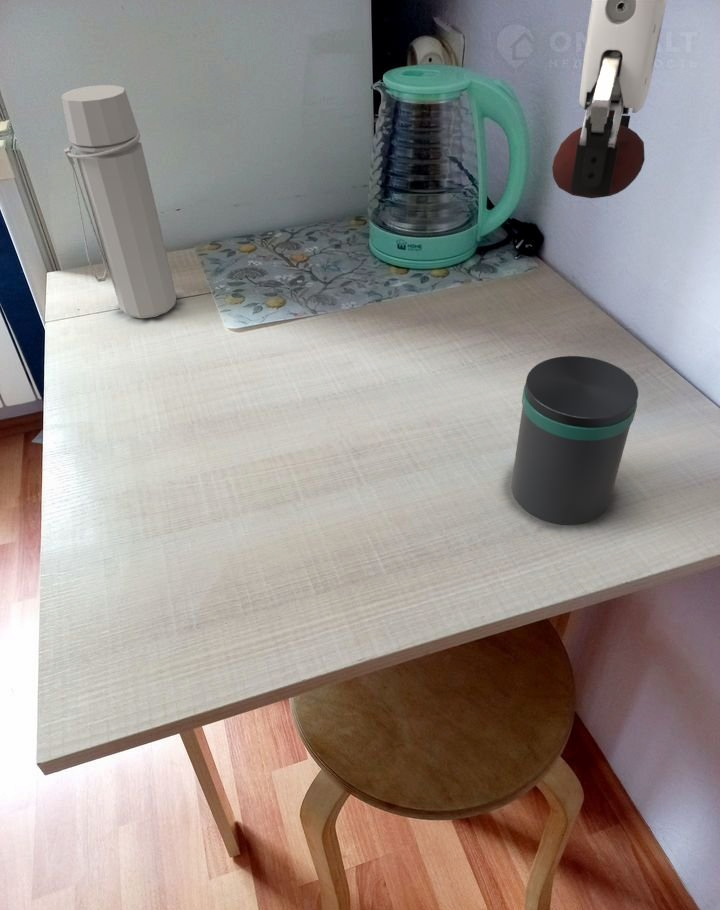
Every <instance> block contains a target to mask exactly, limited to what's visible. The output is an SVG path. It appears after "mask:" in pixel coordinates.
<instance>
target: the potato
mask: <svg viewBox="0 0 720 910" xmlns="http://www.w3.org/2000/svg"><path fill="white" fill-rule="evenodd" d="M582 128H583V126H581V127H579V128H577V129H576V130H574V131H572V132H571V133H570V134H569V135H568V136H567V137H566V138H565V139H563V141H562V142H561V144H560V146H559V148H558V149H557V151H556V154H555V155H554V158H553V160H552V161H553V163H552V167H551V171H552V178H553V180H554V182H555V185H556V186H557V188H559V189H561V190H562V191H564V192H565V193H567V194H569V195H571V196H575V197H580V198H587V199H599V198H606V197H611V196H614V195H617V194H619V193H620V192H623V191H624V190H626V189H627V188H628V187H629V186H630V185H631V184H632V183H633V182H634V181H635V180H636V179H637V178H638V176H639V174H640V173H641V171H642V168H643V165H644V163H645V157H646V156H645V142H644V140H643V138H641V137H640V136H639V135H638V133H637V132H636V131H634V130H633V129H631V128H630V127H628V128H627V127H624V126H622V125H620V126H619V130H618V135H617V139H616V144H615V145H619V147H618V153H617V158H616V163H615V169H614V174H613V179H612V185H611V190H610V193H609V194H608V195H607V196H597V195H586V194H576V193H573V192H572V191H571V185H572V178H573V171H574V165H575V158H576V151H577V145H578V142H580V137H581V132H582ZM610 132H611V130H610Z"/></svg>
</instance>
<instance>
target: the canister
mask: <svg viewBox="0 0 720 910" xmlns="http://www.w3.org/2000/svg"><path fill="white" fill-rule="evenodd" d="M521 397H522V398H521V406H522V407H521V415H520V421H519V429H518V435H517V442H516V448H515V449H516V450H515V457H514V463H513V471H512V479H511V491H512V495H513V497H514V499H515V500H516V502H517V504H518V505H519V506H520V507H521V508H523V510H524V511H526V512H527V513H528V514H530V515H532V516H534V517H535V518H538V519H540V520H543V521H545V522H549V523H553V524H557V525H571V526H572V525H581V524H585V523H588V522H591V521H593V520H596V519H597V518H599V517H600V516H602V514H604V513H605V512H606V511H607V509H608V507H609V506H610V502H611V499H612V494H613V490H614V486H615V483H616V480H617V476H618V473H619V468H620V465H621V461H622V457H623V454H624V449H625V447H626V442H627V439H628V436H629V432H630V428H631V425H632V424H633V421H634V418H635V415H636V411H637V407H638V398H639V389H638V385H637V383H636V381H635V380H634V379H633V378H632V377H631V375H630V374H628V373H627V372H626V371H624V370H623V369H622V368H620V367H618V366H617V365H615V364H613V363H610V362H607V361H605V360H603V359H602V360H601V359H598V358H594V357H591V356H590V357H589V356H582V355H581V356H580V355H563V356H557V357H556V356H555V357H552V358H549V359H545V360H543V361H541V362H539V363H537V364H536V365H535V366H534V367H532V368H531V369H530V370H529V372H528V373H527V376H526V379H525V383H524V386H523V390H522V396H521Z"/></svg>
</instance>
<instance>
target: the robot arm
mask: <svg viewBox="0 0 720 910" xmlns="http://www.w3.org/2000/svg"><path fill="white" fill-rule="evenodd" d="M667 2H668V1H667V0H591V5H590V12H589V19H588V23H587V24H588V25H587V31H586V38H585V46H584V52H583V53H584V54H583V62H582V63H583V64H582V71H581V79H580V89H579V100H578V103H579V106H580V107H581V108H582V109H583V110H584V111H585V114H584V119H583V124H582V127H583V128H582V132H581V137H580V142H578V145H577V151H576V158H575V165H574V171H573V178H572V185H571V191H572V192H573V193H576V194H586V195H597V196H607V195H608V194H609V193H610V190H611V185H612V179H613V174H614V169H615V163H616V158H617V153H618V147H619V145H615V144H616V139H617V135H618V130H619V126H620V125H622V126H624V127H627V128H629V125H630V121H631V115H629V112H630V110H631V109H632V110H631V112H632V114H637V113H638V112H639V111H641V110H642V109H643V107H644V105H645V103H646V99H647V97H648V94H649V91H650V87H651V82H652V77H653V71H654V66H655V62H656V57H657V51H658V47H659V46H658V45H659V41H660V36H661V31H662V26H663V22H664V17H665V11H666V7H667V6H666V5H667ZM610 130H611V132H610ZM607 197H608V196H607Z"/></svg>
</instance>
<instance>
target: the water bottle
mask: <svg viewBox="0 0 720 910" xmlns="http://www.w3.org/2000/svg"><path fill="white" fill-rule="evenodd" d="M61 102H62V109H63V113H64V118H65V119H64V120H65V123H66V129H67V135H68V139H69V142H70V143H71V144H70V145H68V147H66V148H64V149H63V152H64V153H65V156H66V157H67V159H68V162H69V163H70V167H71V172H72V179H73V184H74V190H75V195H76V200H77V207H78V212H79V217H80V222H81V228H82V229H81V230H82V234H83V239H84V245H85V253H86V256H87V257H86V258H87V262H88V264H89V267H90V269H91V271H92V274H93V276H94V278H95V279H96V281H97V283H100V282H106V281H107V278H108V272H109V275H110V278H111V283H112V286H113V289H114V293H115V296H116V300H117V303H118V306H119V309H120V310H121V311H122V312H123V313H125V314H126V315H128V316H129V317H130V318H136V319H149V318H155V317H159V316H161V315H164V314H166V313H168V312H169V311H170V310H171V309H173V307H175V305H176V303H177V293H176V288H175V284H174V280H173V276H172V271H171V267H170V262H169V257H168V254H167V249H166V245H165V241H164V236H163V231H162V228H161V224H160V218H159V215H158V209H157V206H156V200H155V198H154V193H153V187H152V183H151V180H150V175H149V171H148V170H149V169H148V166H147V162H146V158H145V153H144V149H143V145H142V142H140V139H141V131H140V130H139V129H138V125H137V122H136V119H135V116H134V113H133V110H132V107H131V103H130V101H129V98H128V94H127V91H126V89H125V87H122V86H120V85H114V84H99V85H88V86H83V87H79V88H74V89H71V90H68V91H66V92H64V93H63V94H62V95H61ZM73 148H74V149H75V150H76V152H75V153H74V154H73V153H72V152H71V150H72V149H73ZM74 159H76V162H77V164H78V167H79V172H80V175H81V179H82V182H83V185H84V189H85V193H86V196H87V199H88V203H89V206H90V209H91V213H92V217H91V213H90V211H89V207H88V205H87V202H86V198H85V196H84V192H83V190H82V186H81V184H80V180H79V178H78V175H77V171H76V168H75V160H74ZM76 182H77V183H76ZM77 185H78V188H79V191H80V194H81V197H82V200H83V203H84V206H85V210H86V212H87V216H88V218H89V222H90V225H91V228H92V232H93V235H94V236H95V241H96V244H97V247H98V250H99V253H100V256H101V259H102V263H103V266H104V273H103V276H101V277H98V275H97V274H96V273H95V270H94V268H93V266H92V263H91V259H90V258H91V257H90V253H89V247H88V241H87V237H86V236H87V235H86V231H85V225H84V221H83V215H82V211H81V210H82V209H81V205H80V204H81V203H80V199H79V193H78V188H77ZM92 218H93V220H94V223H93V220H92ZM94 224H95V226H96V229H95V226H94ZM97 234H98V235H97Z"/></svg>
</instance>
